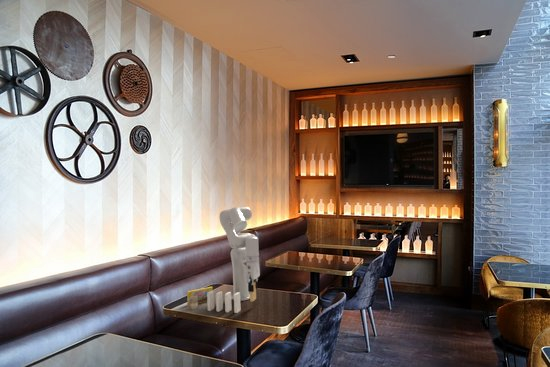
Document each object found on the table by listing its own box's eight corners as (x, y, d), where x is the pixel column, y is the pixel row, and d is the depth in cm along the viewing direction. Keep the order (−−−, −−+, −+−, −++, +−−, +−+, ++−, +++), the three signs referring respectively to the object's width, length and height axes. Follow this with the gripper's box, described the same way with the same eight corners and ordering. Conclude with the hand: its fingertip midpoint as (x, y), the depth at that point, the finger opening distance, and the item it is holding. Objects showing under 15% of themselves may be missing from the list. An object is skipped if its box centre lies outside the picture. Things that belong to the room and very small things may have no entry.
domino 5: (250, 301, 223) (249, 283, 222) (253, 298, 227) (253, 281, 227) (252, 301, 222) (252, 284, 222) (256, 298, 227) (255, 281, 226)
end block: (187, 309, 226) (187, 299, 226) (193, 306, 232) (192, 296, 232) (192, 309, 225) (192, 299, 225) (197, 306, 231) (197, 296, 231)
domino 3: (225, 312, 219) (224, 294, 219) (229, 309, 224) (228, 291, 224) (228, 312, 218) (227, 294, 218) (231, 309, 223) (231, 291, 223)
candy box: (188, 305, 233) (188, 292, 233) (187, 305, 235) (186, 291, 235) (213, 300, 243) (212, 286, 243) (211, 299, 244) (211, 286, 244)
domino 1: (207, 310, 223) (207, 293, 222) (211, 307, 227) (211, 290, 227) (210, 310, 222) (209, 293, 222) (214, 308, 227) (213, 290, 227)
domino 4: (234, 312, 217) (233, 294, 217) (238, 309, 222) (237, 292, 222) (237, 313, 217) (236, 294, 217) (240, 310, 221) (240, 292, 221)
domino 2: (216, 311, 221) (215, 293, 221) (220, 308, 226) (219, 291, 225) (219, 311, 220) (218, 293, 220) (223, 308, 225) (222, 291, 225)
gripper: (252, 262, 215) (253, 295, 215) (263, 255, 231) (264, 286, 231) (240, 261, 217) (240, 294, 218) (251, 254, 233) (252, 285, 234)
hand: (252, 289), depth 224 cm, fingers closed on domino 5, 4 cm apart
